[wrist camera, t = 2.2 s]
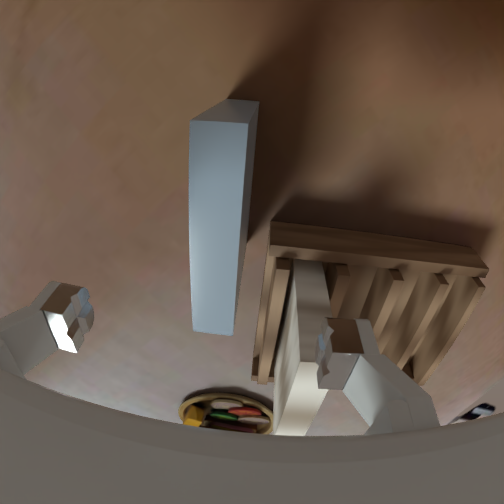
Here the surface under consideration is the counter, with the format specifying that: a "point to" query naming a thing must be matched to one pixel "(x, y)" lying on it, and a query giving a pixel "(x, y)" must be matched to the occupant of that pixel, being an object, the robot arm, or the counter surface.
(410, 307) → the rack
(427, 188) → the counter surface
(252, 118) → the grey upright panel
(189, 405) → the toy sandwich meal
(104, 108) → the counter surface
